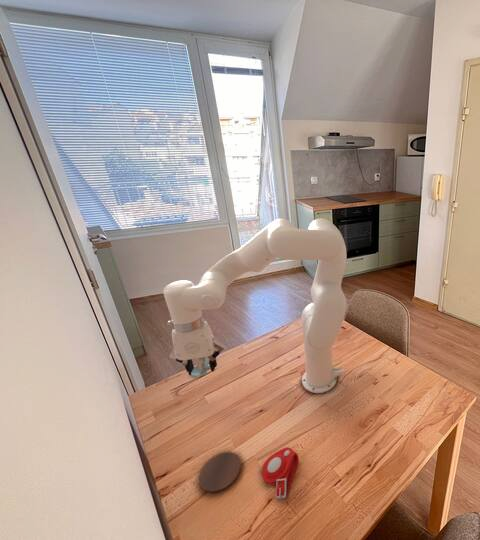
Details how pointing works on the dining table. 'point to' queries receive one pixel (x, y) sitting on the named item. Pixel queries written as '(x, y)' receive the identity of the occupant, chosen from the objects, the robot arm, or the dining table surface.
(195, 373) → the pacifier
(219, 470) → the dark brown coaster
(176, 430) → the dining table surface
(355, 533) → the dining table surface
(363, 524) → the dining table surface
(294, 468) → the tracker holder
